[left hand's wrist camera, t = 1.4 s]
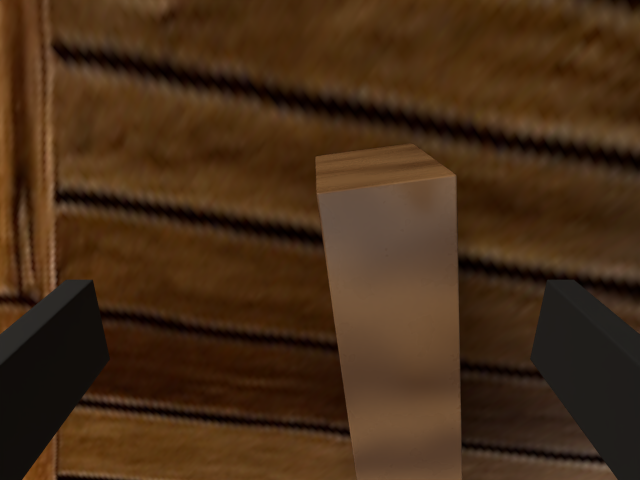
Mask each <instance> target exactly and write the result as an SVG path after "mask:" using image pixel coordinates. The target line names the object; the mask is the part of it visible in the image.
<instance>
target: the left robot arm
mask: <svg viewBox="0 0 640 480" xmlns="http://www.w3.org/2000/svg"><path fill="white" fill-rule="evenodd" d="M109 359H110V358H109V353H108V349H107V344H106V339H105V335H104V330H103V325H102V321H101V316H100V311H99V307H98V302H97V297H96V293H95V288H94V283H93V280H66V281H64V282H63V283H62V284H61V285H59V286H58V287H57V288H56V289H55V290H53V291H52V292H51V293H50V294H49V295H47V296H46V297H45V298H44V299H43V300H41V301H40V302H39V303H38V304H37V305H35V306H34V307H33V308H32V309H30V310H29V311H28V312H27V313H26V314H24V315H23V316H22V317H21V318H20V319H18V320H17V321H16V322H15V323H14V324H12V325H11V326H10V327H9V328H7V329H6V330H5V331H4V332H3V333H1V334H0V480H22V479H23V478H24V476H25V475H26V474H27V472H28V471H29V469H30V468H31V467H32V465H33V464H34V463H35V461H36V460H37V458H38V457H39V456H40V454H41V453H42V452H43V450H44V449H45V447H46V446H47V445H48V443H49V442H50V441H51V439H52V438H53V436H54V435H55V434H56V432H57V431H58V430H59V428H60V427H61V425H62V424H63V423H64V421H65V420H66V419H67V417H68V416H69V414H70V413H71V412H72V410H73V409H74V408H75V406H76V405H77V403H78V402H79V401H80V399H81V398H82V397H83V395H84V394H85V392H86V391H87V390H88V388H89V387H90V386H91V384H92V383H93V381H94V380H95V379H96V377H97V376H98V375H99V373H100V372H101V370H102V369H103V368H104V366H105V365H106V364H107V362H108V361H109ZM530 359H531V361H532V362H533V364H534V365H535V366H536V368H537V369H538V370H539V372H540V373H541V375H542V376H543V377H544V379H545V380H546V381H547V383H548V384H549V386H550V387H551V388H552V390H553V391H554V392H555V394H556V395H557V397H558V398H559V399H560V401H561V402H562V403H563V405H564V406H565V408H566V409H567V410H568V412H569V413H570V414H571V416H572V417H573V419H574V420H575V421H576V423H577V424H578V425H579V427H580V428H581V430H582V431H583V432H584V434H585V435H586V436H587V438H588V439H589V441H590V442H591V443H592V445H593V446H594V447H595V449H596V450H597V452H598V453H599V454H600V456H601V457H602V458H603V460H604V461H605V463H606V464H607V465H608V467H609V468H610V469H611V471H612V472H613V474H614V475H615V476H616V478H617V479H618V480H640V334H639V333H637V332H636V331H635V330H634V329H633V328H631V327H630V326H629V325H628V324H626V323H625V322H624V321H623V320H622V319H620V318H619V317H618V316H617V315H616V314H614V313H613V312H612V311H611V310H610V309H608V308H607V307H606V306H605V305H603V304H602V303H601V302H600V301H599V300H597V299H596V298H595V297H594V296H593V295H591V294H590V293H589V292H588V291H587V290H585V289H584V288H583V287H582V286H581V285H579V284H578V283H577V282H576V281H574V280H547V283H546V288H545V293H544V297H543V302H542V307H541V311H540V316H539V321H538V325H537V330H536V335H535V339H534V344H533V349H532V353H531V358H530Z"/></svg>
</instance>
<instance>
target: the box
mask: <svg viewBox="0 0 640 480" xmlns="http://www.w3.org/2000/svg"><path fill="white" fill-rule="evenodd" d="M316 195H317V202H318V209H319V216H320V223H321V230H322V237H323V244H324V251H325V258H326V265H327V272H328V280H329V287H330V294H331V301H332V308H333V315H334V322H335V329H336V336H337V343H338V350H339V357H340V364H341V371H342V378H343V386H344V393H345V400H346V407H347V414H348V421H349V428H350V435H351V442H352V449H353V456H354V463H355V470H356V477H357V480H462V443H461V390H460V337H459V284H458V230H457V177H456V175H455V174H454V173H453V172H451V171H450V170H449V169H447V168H446V167H445V166H443V165H442V164H440V163H439V162H438V161H436V160H435V159H434V158H432V157H431V156H429V155H428V154H427V153H425V152H424V151H423V150H421V149H420V148H418V147H417V146H416V145H414V144H413V143H410V144H402V145H395V146H388V147H380V148H373V149H366V150H359V151H351V152H344V153H337V154H329V155H322V156H316Z"/></svg>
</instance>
